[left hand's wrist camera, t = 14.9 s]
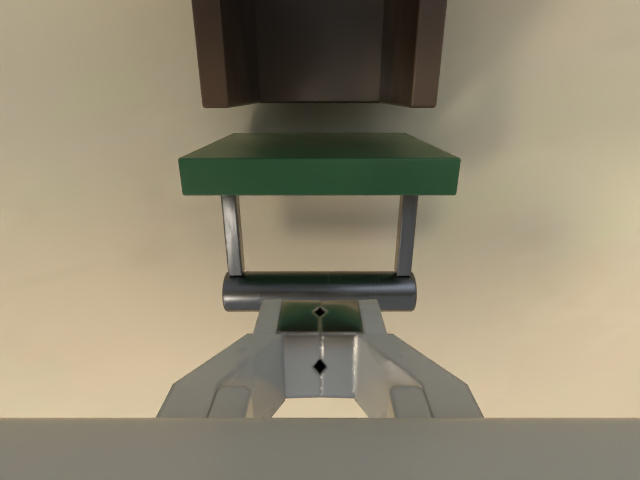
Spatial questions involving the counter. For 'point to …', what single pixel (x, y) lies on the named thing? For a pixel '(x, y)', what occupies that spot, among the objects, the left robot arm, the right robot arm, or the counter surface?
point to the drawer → (319, 148)
